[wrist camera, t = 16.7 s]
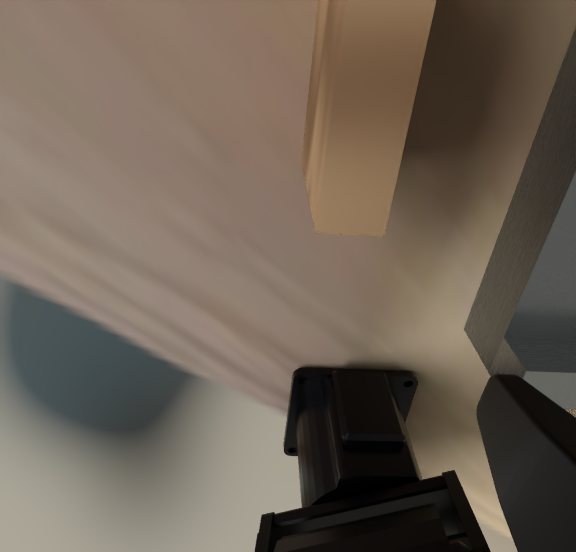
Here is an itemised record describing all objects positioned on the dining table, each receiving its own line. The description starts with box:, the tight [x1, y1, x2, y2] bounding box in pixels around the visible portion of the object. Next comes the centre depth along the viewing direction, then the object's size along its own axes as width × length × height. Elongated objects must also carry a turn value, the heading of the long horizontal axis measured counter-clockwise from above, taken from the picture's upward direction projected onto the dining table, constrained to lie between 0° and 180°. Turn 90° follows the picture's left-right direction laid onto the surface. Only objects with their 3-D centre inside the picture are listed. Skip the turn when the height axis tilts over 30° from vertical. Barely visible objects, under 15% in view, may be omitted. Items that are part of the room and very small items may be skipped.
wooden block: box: [301, 0, 436, 237], centre depth 14 cm, size 8×2×6 cm, turn 175°
